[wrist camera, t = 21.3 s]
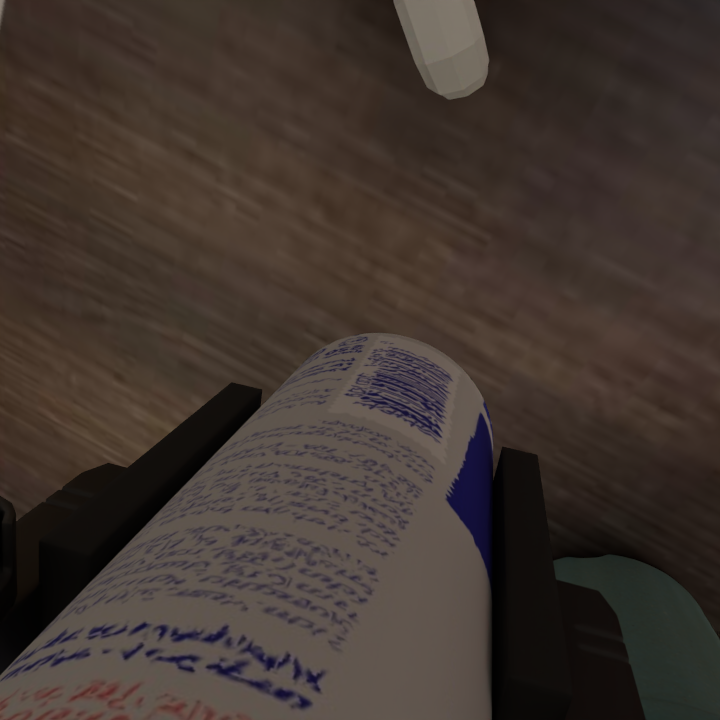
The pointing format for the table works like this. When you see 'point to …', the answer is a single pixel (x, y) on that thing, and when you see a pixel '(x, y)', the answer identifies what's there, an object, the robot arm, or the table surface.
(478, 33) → the mug
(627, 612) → the flower pot
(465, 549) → the beverage can
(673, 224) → the table surface
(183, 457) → the robot arm
